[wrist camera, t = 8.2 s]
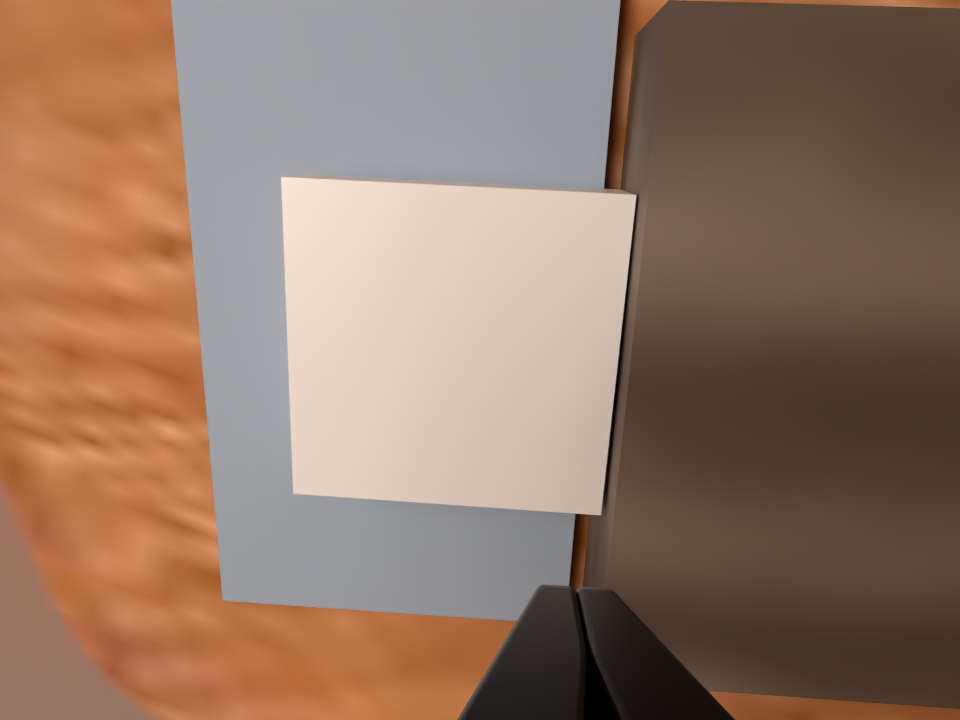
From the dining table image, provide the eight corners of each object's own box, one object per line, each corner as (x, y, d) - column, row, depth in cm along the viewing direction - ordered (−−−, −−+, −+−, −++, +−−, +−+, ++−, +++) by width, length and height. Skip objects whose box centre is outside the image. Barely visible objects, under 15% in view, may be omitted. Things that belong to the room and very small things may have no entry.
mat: (564, 613, 22) (565, 624, 21) (229, 591, 22) (222, 600, 22) (618, -10, 16) (621, -15, 16) (178, -22, 17) (168, -28, 16)
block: (591, 471, 20) (600, 515, 17) (320, 453, 20) (293, 493, 18) (620, 189, 17) (636, 194, 15) (313, 174, 18) (281, 176, 15)
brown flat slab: (1038, 618, 21) (1156, 723, 17) (582, 588, 21) (596, 682, 18) (1225, 54, 16) (1443, 22, 12) (635, 36, 17) (668, 0, 13)
